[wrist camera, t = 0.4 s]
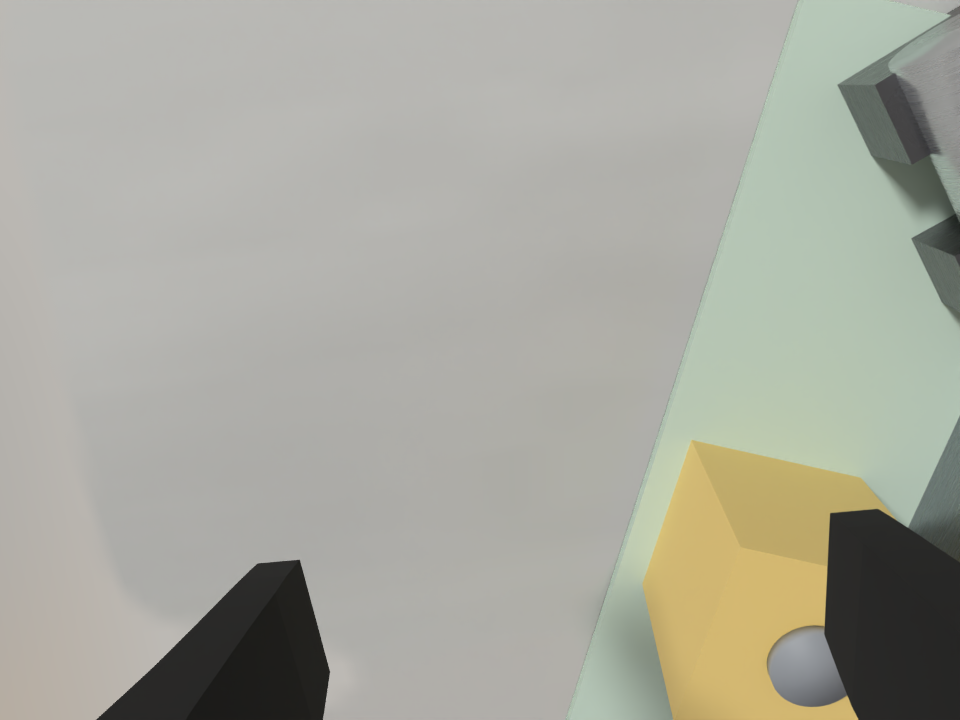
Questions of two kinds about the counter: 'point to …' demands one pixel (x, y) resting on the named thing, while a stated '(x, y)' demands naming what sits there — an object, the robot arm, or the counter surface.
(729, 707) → the yellow block
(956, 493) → the frame
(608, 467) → the counter surface
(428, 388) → the counter surface
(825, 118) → the mat
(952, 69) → the shaft
